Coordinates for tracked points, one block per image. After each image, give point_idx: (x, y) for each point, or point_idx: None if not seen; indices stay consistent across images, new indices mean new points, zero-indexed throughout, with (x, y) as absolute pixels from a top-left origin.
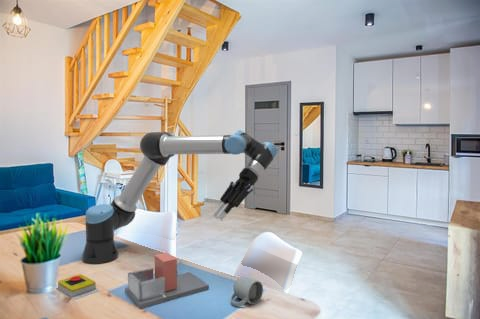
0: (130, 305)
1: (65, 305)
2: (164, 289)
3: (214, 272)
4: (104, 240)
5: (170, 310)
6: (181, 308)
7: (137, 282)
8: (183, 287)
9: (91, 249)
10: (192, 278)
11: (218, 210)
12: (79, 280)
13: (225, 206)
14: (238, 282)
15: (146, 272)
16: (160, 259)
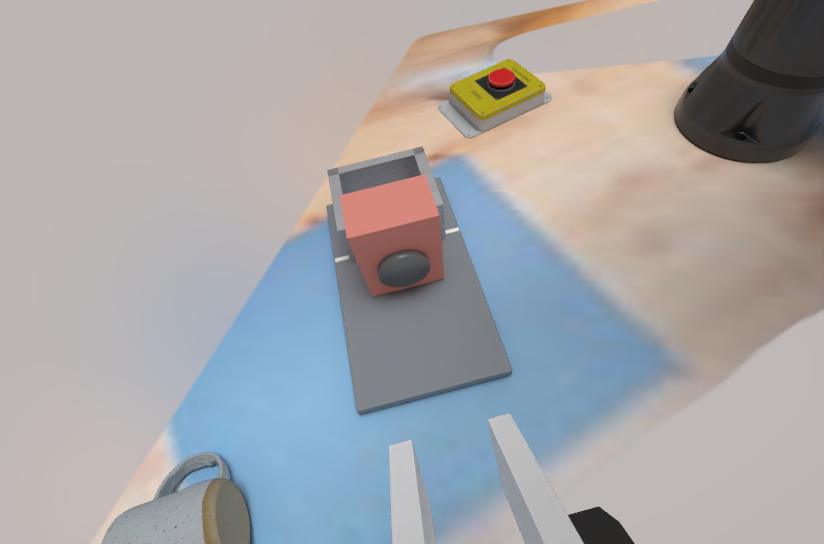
0: None
1: (414, 97)
2: (347, 252)
3: None
4: (743, 63)
5: (285, 274)
6: (280, 301)
7: (341, 167)
8: (377, 319)
9: (712, 66)
10: (441, 366)
11: (522, 502)
12: (501, 88)
13: None
14: (187, 496)
15: None
16: (368, 188)
